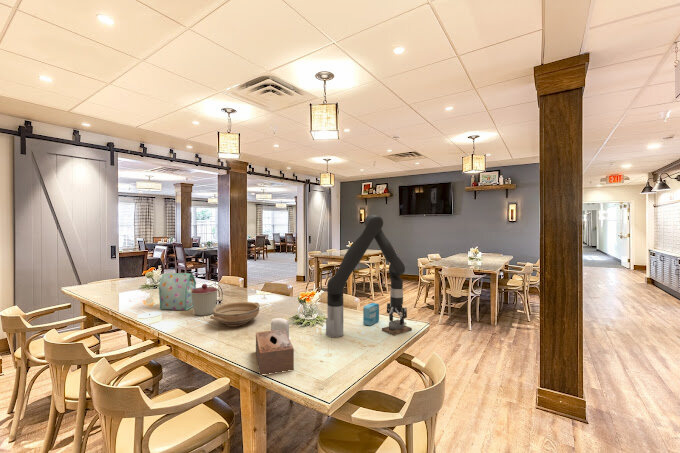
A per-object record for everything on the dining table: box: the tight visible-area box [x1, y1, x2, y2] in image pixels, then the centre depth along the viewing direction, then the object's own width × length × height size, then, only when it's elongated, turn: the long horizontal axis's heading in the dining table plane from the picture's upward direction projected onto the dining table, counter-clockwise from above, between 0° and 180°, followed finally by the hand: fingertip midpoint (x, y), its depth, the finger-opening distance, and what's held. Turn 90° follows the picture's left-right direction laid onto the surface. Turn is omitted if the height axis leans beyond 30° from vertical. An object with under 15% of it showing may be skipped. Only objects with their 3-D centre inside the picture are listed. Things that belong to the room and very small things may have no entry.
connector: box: [388, 318, 407, 331], centre depth 186 cm, size 12×4×4 cm, turn 126°
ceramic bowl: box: [210, 301, 261, 327], centre depth 201 cm, size 37×28×10 cm
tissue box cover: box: [255, 329, 295, 376], centre depth 146 cm, size 26×14×10 cm, turn 19°
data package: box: [362, 302, 380, 327], centre depth 200 cm, size 12×4×12 cm, turn 142°
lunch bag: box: [158, 272, 197, 311], centre depth 236 cm, size 23×16×27 cm
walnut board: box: [381, 325, 413, 337], centre depth 186 cm, size 15×10×2 cm, turn 126°
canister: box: [190, 283, 219, 317], centre depth 221 cm, size 18×18×21 cm
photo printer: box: [270, 317, 290, 338], centre depth 171 cm, size 10×4×12 cm, turn 72°
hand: (396, 322), depth 186 cm, fingers open, 8 cm apart
